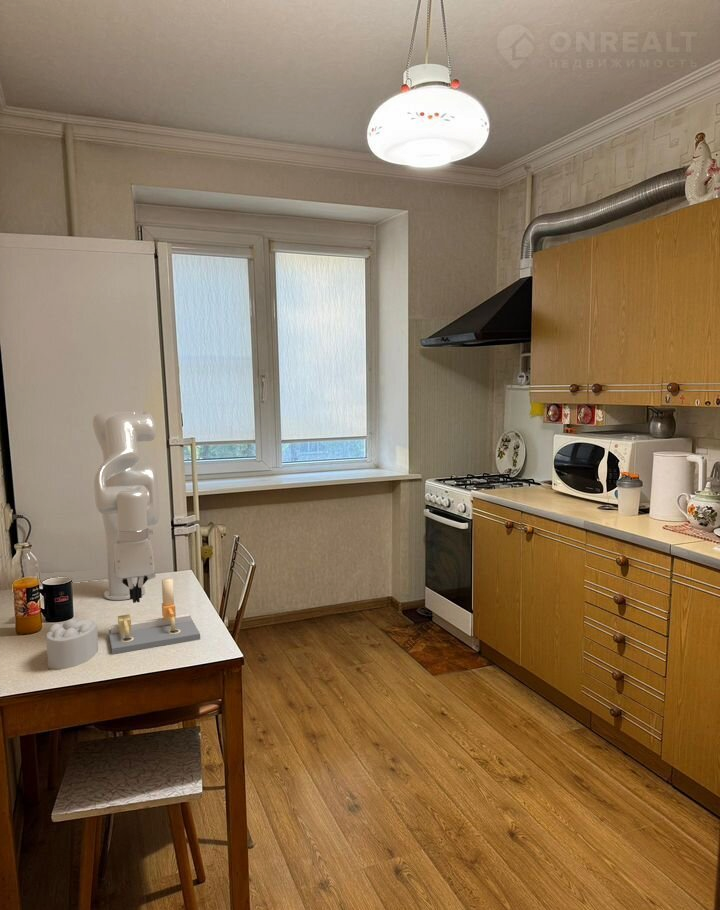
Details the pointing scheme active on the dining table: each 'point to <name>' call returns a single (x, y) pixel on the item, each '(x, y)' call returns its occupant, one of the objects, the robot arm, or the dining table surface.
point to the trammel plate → (150, 633)
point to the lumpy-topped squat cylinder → (71, 643)
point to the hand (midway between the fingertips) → (136, 601)
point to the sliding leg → (168, 602)
